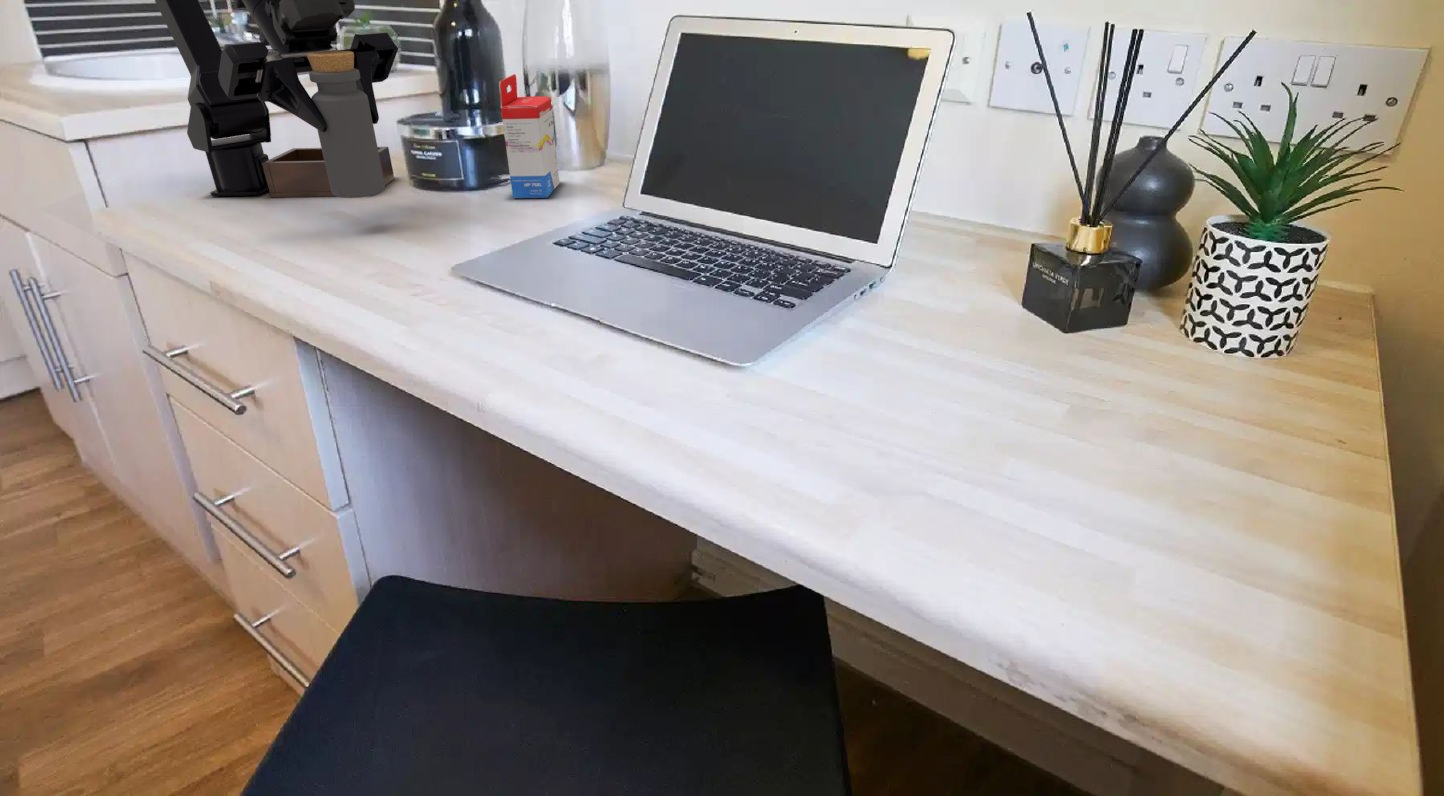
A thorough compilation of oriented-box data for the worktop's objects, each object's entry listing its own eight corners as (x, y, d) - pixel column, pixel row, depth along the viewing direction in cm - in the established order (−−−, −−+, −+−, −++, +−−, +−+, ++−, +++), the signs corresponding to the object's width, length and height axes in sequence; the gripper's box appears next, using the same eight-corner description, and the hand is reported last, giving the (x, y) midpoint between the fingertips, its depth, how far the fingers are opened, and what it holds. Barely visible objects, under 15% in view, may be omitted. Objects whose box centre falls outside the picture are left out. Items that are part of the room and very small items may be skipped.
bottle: (391, 193, 97) (365, 53, 90) (338, 201, 94) (306, 57, 87) (378, 182, 101) (352, 48, 94) (326, 190, 98) (295, 52, 91)
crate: (270, 197, 114) (261, 162, 112) (300, 180, 122) (292, 148, 120) (371, 195, 114) (364, 161, 112) (394, 178, 122) (388, 146, 120)
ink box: (548, 198, 111) (535, 81, 104) (511, 199, 111) (496, 81, 104) (560, 183, 119) (549, 72, 112) (526, 183, 119) (512, 73, 112)
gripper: (197, -45, 82) (278, 85, 81) (373, -47, 95) (445, 66, 94) (188, 37, 90) (262, 157, 89) (351, 26, 103) (418, 130, 102)
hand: (351, 125), depth 93 cm, fingers closed on bottle, 6 cm apart
